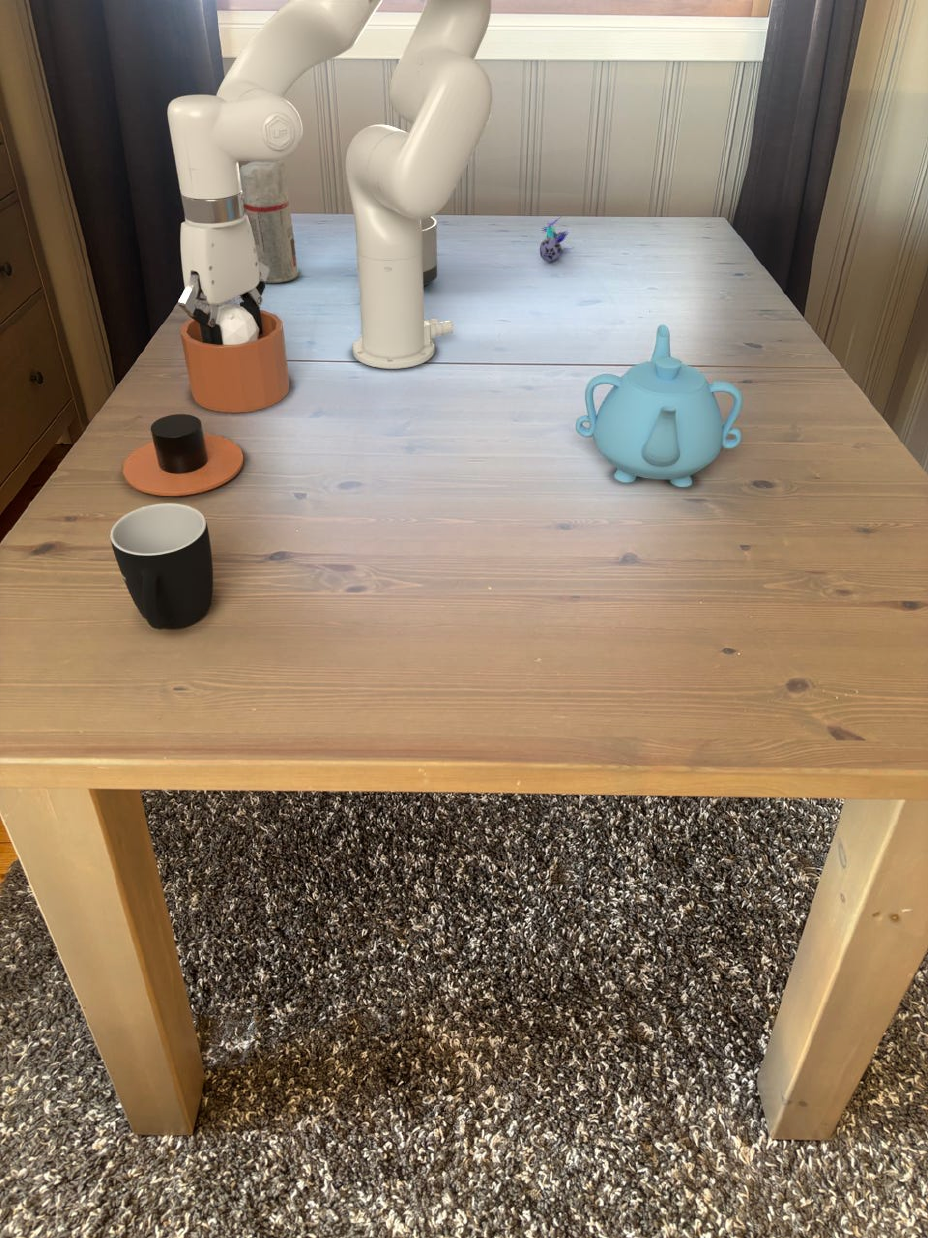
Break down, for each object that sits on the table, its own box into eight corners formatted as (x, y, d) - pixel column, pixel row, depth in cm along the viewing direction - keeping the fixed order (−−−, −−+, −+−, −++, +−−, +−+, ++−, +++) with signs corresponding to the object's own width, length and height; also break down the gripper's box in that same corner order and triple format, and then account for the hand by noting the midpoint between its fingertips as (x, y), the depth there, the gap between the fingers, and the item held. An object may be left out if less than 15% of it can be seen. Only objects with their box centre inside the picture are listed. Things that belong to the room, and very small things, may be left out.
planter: (450, 279, 171) (450, 218, 164) (410, 300, 162) (408, 238, 156) (393, 265, 176) (391, 206, 169) (351, 286, 167) (347, 225, 161)
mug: (143, 584, 99) (122, 502, 93) (229, 583, 100) (213, 501, 93) (115, 660, 90) (89, 575, 84) (209, 658, 90) (190, 574, 84)
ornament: (270, 346, 134) (269, 315, 126) (233, 378, 132) (230, 349, 124) (233, 313, 134) (231, 280, 127) (196, 345, 132) (191, 314, 124)
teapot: (650, 517, 110) (668, 408, 101) (553, 446, 123) (562, 344, 114) (751, 481, 117) (776, 375, 108) (649, 417, 130) (664, 318, 121)
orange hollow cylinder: (271, 363, 142) (263, 301, 136) (303, 400, 133) (296, 335, 127) (181, 381, 137) (169, 318, 131) (208, 420, 128) (196, 354, 122)
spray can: (290, 286, 167) (276, 165, 154) (246, 283, 168) (229, 162, 156) (305, 270, 173) (294, 152, 161) (263, 267, 175) (248, 149, 162)
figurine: (536, 221, 184) (531, 243, 175) (563, 207, 181) (559, 228, 172) (551, 251, 187) (546, 274, 178) (578, 238, 184) (574, 260, 176)
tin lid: (224, 431, 125) (217, 389, 122) (259, 482, 116) (253, 437, 112) (113, 456, 120) (101, 413, 116) (140, 512, 110) (128, 466, 106)
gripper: (238, 186, 126) (255, 315, 138) (140, 219, 115) (168, 357, 126) (281, 195, 123) (295, 327, 134) (185, 229, 112) (209, 370, 123)
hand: (233, 340), depth 130 cm, fingers closed on ornament, 7 cm apart
